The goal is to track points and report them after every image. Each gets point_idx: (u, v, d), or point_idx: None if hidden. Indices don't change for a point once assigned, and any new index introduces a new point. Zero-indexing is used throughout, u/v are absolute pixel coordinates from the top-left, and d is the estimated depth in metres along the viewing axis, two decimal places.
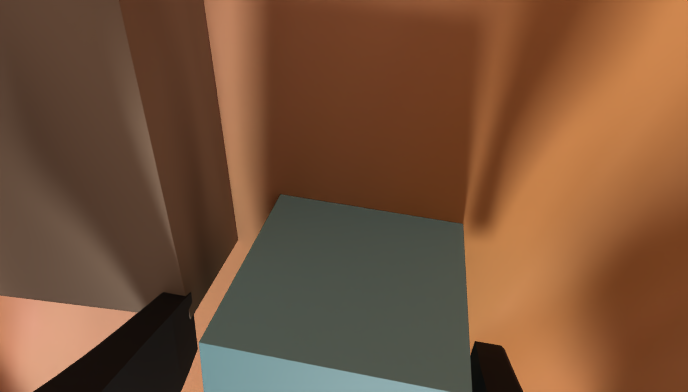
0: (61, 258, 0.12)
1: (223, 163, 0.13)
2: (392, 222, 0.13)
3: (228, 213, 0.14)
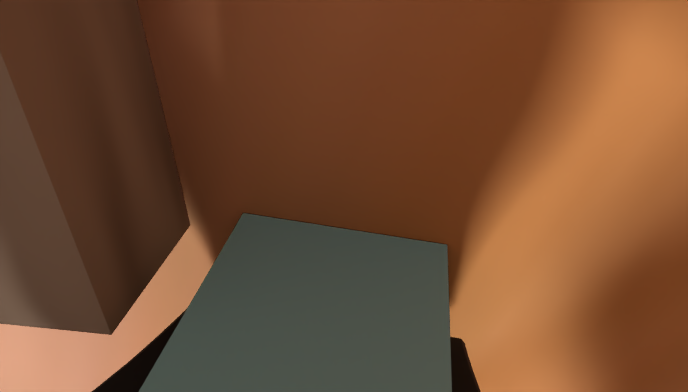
0: None
1: (154, 141, 0.11)
2: (367, 246, 0.12)
3: (165, 202, 0.12)
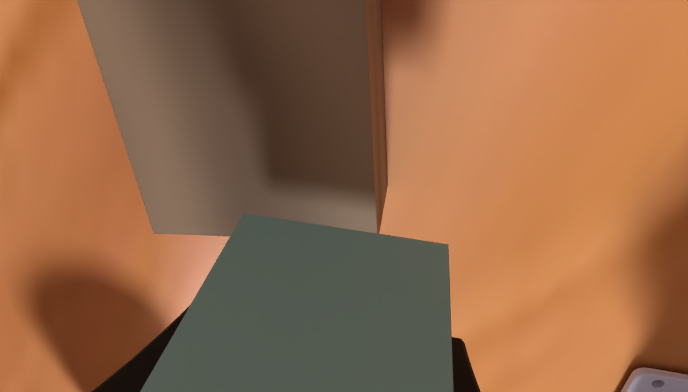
0: (283, 200, 0.16)
1: (383, 128, 0.18)
2: (368, 246, 0.12)
3: (384, 167, 0.18)
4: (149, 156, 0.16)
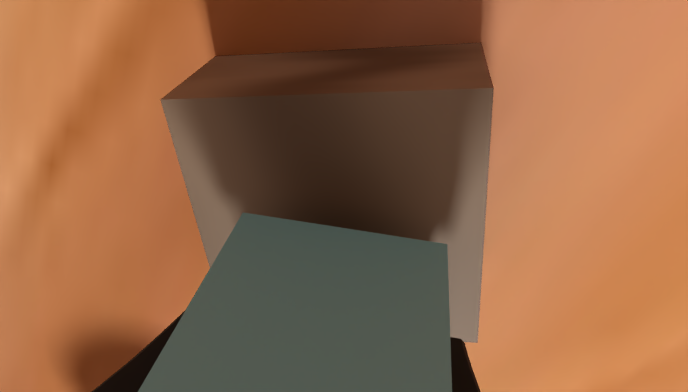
0: None
1: None
2: (367, 245, 0.12)
3: None
4: None
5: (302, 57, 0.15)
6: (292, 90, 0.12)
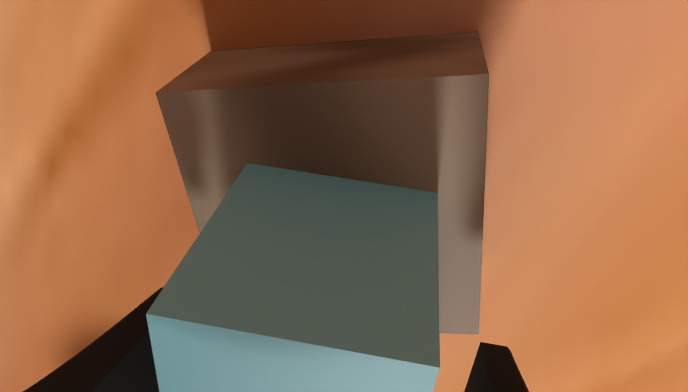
0: None
1: None
2: (363, 192, 0.12)
3: None
4: None
5: (298, 49, 0.15)
6: (287, 80, 0.12)
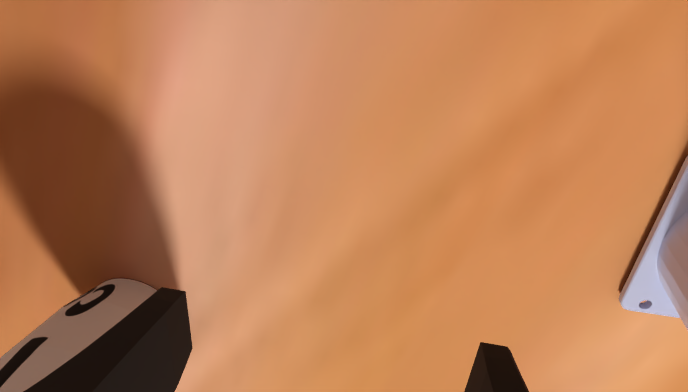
0: None
1: None
2: None
3: None
4: None
5: None
6: None
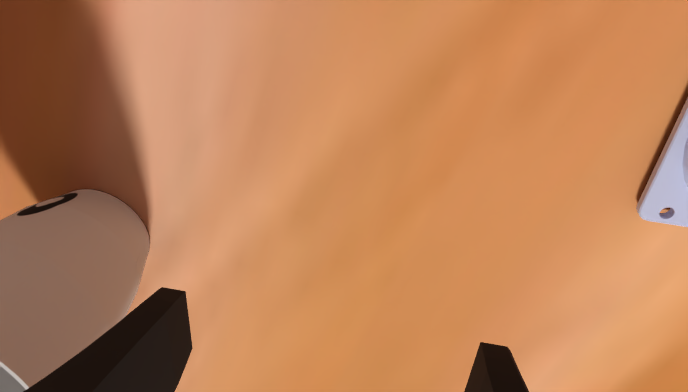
0: None
1: None
2: None
3: None
4: None
5: None
6: None
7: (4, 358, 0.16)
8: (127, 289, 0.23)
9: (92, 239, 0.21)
